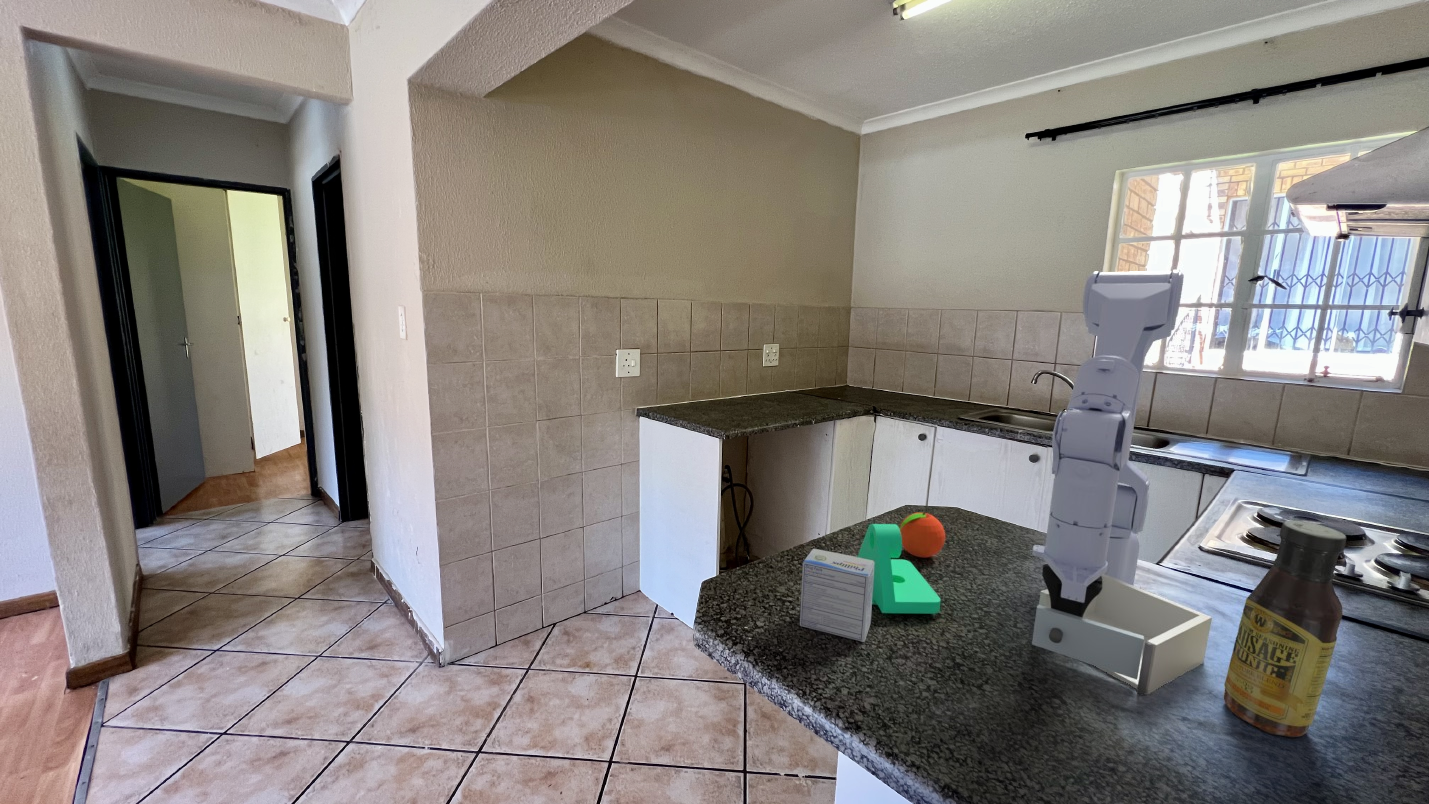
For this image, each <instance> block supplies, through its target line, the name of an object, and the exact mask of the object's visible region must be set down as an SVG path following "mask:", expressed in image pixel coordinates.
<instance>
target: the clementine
mask: <svg viewBox="0 0 1429 804" xmlns="http://www.w3.org/2000/svg"><path fill="white" fill-rule="evenodd" d="M899 529H900V532H901V537H902V548H904V550H905V551H906V552H908V553H909V554H911V555H912V556H914V557H918V558H930V557H933V556H936V555H937V554H938V553H939V552H940V551H941V550H942V548H943V547H944V545H945V542H946V531H945V528H944V526H943V524H942V522H940V521H939V520H938V518H936V517H935V516H934V515H932V514H931V513H927V512H922V511H921V512H914V513H911V514H909V515H908V516H906V517H904V519H903V520H902V522H901V523H900V525H899Z"/></svg>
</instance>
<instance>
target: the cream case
mask: <svg viewBox="0 0 1429 804" xmlns="http://www.w3.org/2000/svg"><path fill="white" fill-rule="evenodd" d="M1101 576H1102V590H1101V592H1100V593H1099V594H1098V595H1097V596H1096V597H1095V598H1094V599H1093V600H1092V601H1091V602H1090V604H1089V605H1088V607H1087V609H1086V610H1085V613H1084V615H1083V618H1085V619H1089V620H1092V621H1095V622H1099V623H1102V624H1105V625H1109V626H1112V627H1115V628H1119V629H1122V630H1126V631H1129V632H1132V633H1136V634H1139V635H1142V636H1144V642H1143V648H1142V654H1141V660H1140V666H1139V671H1138V677H1137V680H1136V679H1133V678H1130V677H1127V676H1125V675H1122V674H1119V673H1116V672H1113V671H1110V670H1107V669H1104V668H1101V667H1098V666H1096V667H1095V665H1094V667H1095V668H1098V669H1099V670H1100V671H1103V672H1105V673H1106V672H1107V673H1106V674H1108V675H1110V676H1112V677H1114V678H1115V679H1117V678H1118V679H1117V680H1119V679H1120V681H1121V680H1122V681H1121V682H1123V681H1124V682H1123V683H1125V682H1126V683H1125V684H1127V683H1128V684H1127V685H1129V684H1130V685H1131V687H1132V686H1133V687H1132V688H1134V689H1136V693H1137V694H1138V695H1139V696H1145V695H1147V696H1148V695H1150V694H1152V693H1153V692H1155V691H1157V690H1159V689H1160V688H1162V687H1164V686H1165V685H1164V684H1166V683H1167V682H1169V681H1171V680H1173V679H1174V680H1176V679H1178V678H1179V677H1178V676H1180V675H1181V676H1183V675H1185V674H1186V672H1187V671H1188V672H1190V671H1192V670H1194V669H1195V668H1197V667H1199V666H1201V665H1202V664H1204V663H1205V658H1206V657H1205V656H1206V651H1207V647H1208V641H1209V634H1210V631H1211V627H1212V626H1211V625H1212V619H1213V617H1212V616H1210V615H1208V614H1205V613H1203V612H1200V611H1198V610H1195V609H1193V608H1190V607H1188V606H1185V605H1183V604H1181V603H1177V602H1176V601H1172V600H1170V599H1167V598H1164V597H1162V596H1159V595H1158V594H1155V593H1152V592H1150V591H1148V590H1145V589H1143V588H1141V589H1140V588H1138V587H1135V586H1133V585H1130V584H1128V583H1125V582H1123V581H1120V580H1118V579H1115V578H1113V577H1110V576H1108V575H1105V574H1103V575H1101ZM1039 596H1040V597H1039V603H1038V605H1042V606H1045V607H1048V608H1051V602H1050V596H1049V592H1048V589H1047V588H1046V589H1044V590H1040V594H1039ZM1200 664H1201V665H1200ZM1196 666H1197V667H1196ZM1193 668H1194V669H1193ZM1191 669H1192V670H1191ZM1189 670H1190V671H1189ZM1188 672H1187V673H1188ZM1184 673H1185V674H1184ZM1181 676H1180V677H1181ZM1177 677H1178V678H1177ZM1175 678H1176V679H1175ZM1174 680H1173V681H1174ZM1171 682H1172V681H1171ZM1169 683H1170V682H1169ZM1167 684H1168V683H1167ZM1167 684H1166V685H1167ZM1130 685H1129V686H1130ZM1163 685H1164V686H1163ZM1161 686H1162V687H1161ZM1159 687H1160V688H1159ZM1158 688H1159V689H1158ZM1156 689H1157V690H1156ZM1151 692H1152V693H1151Z"/></svg>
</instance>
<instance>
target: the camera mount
mask: <svg viewBox="0 0 1429 804" xmlns="http://www.w3.org/2000/svg"><path fill="white" fill-rule="evenodd" d="M899 528H900V526H898V524H895V523H894V524H893V523H887V524H886V523H870V524H869V525H868V527H867V530H866V533H865V536H864V538H863V541H862V544H861V546H860V549H859V552H858V555H857V557H859V558H863V559H868V560H873V561H874V562H875V566H874V580H873V594H872V605H876V606H878V608H879V609H880V612H881V613H882V614H938V613H940V611H941V610H940V609H941V598H940V597H939V595H938V594H937V592H936V591H935V590H934V589H933V588H932V586H931V585H930V584H929V583H928V581H927V580H926V579H925V578H924V577H923V575H922V574H921V573H920V572H919V570H918V569H917V568H916V567H915V565H914V564H913V563H912V562H911V561H910V560H906V559H898V558H900V556H901V554H902V550H903V545H902V537H901V532H900V529H899ZM891 558H892V559H891Z"/></svg>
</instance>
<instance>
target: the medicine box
mask: <svg viewBox="0 0 1429 804" xmlns="http://www.w3.org/2000/svg"><path fill="white" fill-rule="evenodd" d="M874 566H875V562H874V561H873V560H868V559H863V558H859V557H858V556H853V555H849V554H843V553H839V552H835V551H834V552H833V551H828V550H823V549H817V548H813V549H811V551H810V552H809V553H808V554H807V556H806V558H804V560H803V561H802V574H801V575H802V577H801V591H800V592H801V595H800V596H801V597H800V612H799V613H800V614H799V617H800V618H799V626H800V627H804V628H807V629H811V630H816V631H819V632H823V633H827V634H830V635H833V636H839V637H843V638H845V639H846V638H847V639H850V640H855V641H858V642H862V643H865V642H866V639H867V635H868V632H869V629H870V626H871V623H872V611H873V610H872V609H873V608H872V605H873V603H872V594H873V580H874Z"/></svg>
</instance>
